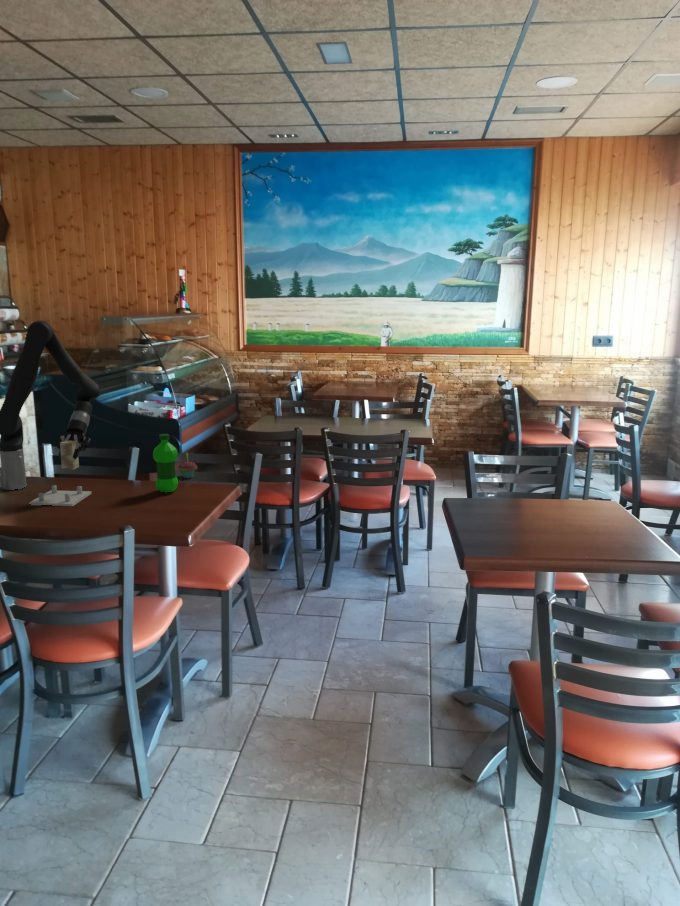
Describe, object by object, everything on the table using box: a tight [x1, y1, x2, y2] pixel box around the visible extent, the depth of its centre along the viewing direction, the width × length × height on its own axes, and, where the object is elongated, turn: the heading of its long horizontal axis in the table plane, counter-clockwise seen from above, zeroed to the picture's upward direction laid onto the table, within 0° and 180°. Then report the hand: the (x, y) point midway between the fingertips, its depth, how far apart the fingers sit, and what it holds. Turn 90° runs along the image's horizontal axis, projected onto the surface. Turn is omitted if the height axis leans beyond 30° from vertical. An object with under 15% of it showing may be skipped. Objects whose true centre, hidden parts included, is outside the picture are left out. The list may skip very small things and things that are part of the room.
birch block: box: [59, 440, 80, 470], centre depth 281 cm, size 5×5×11 cm
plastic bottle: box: [152, 433, 179, 493], centre depth 291 cm, size 10×10×25 cm
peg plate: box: [28, 484, 93, 507], centre depth 282 cm, size 18×18×4 cm
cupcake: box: [178, 452, 198, 479], centre depth 317 cm, size 9×8×12 cm
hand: (67, 457), depth 279 cm, fingers closed on birch block, 5 cm apart
